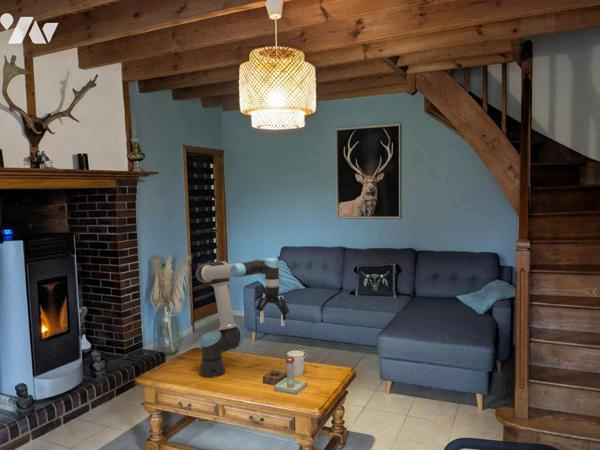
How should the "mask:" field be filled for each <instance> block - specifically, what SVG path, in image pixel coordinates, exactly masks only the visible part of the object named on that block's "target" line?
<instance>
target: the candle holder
mask: <svg viewBox="0 0 600 450" xmlns="http://www.w3.org/2000/svg"><path fill="white" fill-rule="evenodd" d="M286 355H287V357H294V359H295V361H294V377H300V376H302V375H304V366H305V365H304V363H305V352H304V351H301V350H290V351H288V352H287V354H286Z"/></svg>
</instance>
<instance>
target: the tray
mask: <svg viewBox="0 0 600 450" xmlns="http://www.w3.org/2000/svg"><path fill="white" fill-rule="evenodd" d="M306 387H307V381H304V380H299V379H294V388H287V378H285V379H283V380H282V381H280V382H279V383H278V384H276V385H273V388H274V389H273V390H274V391H275V392H279V393H285V394H288V395H289V394H290V395H293V396H296V395H298V394H299V393H300V392H301V391H302V390H304V389H305V388H306Z"/></svg>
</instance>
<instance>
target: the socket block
mask: <svg viewBox="0 0 600 450" xmlns="http://www.w3.org/2000/svg"><path fill="white" fill-rule="evenodd" d="M285 378H287V373H286V371H281V370H280V371H279V370H274V369H272V370H270V371H268V372H266V374H264V375H262V384H266V385H270V386H275V385H276V384H278V383H279V382H280V381H282V380H283V379H285Z"/></svg>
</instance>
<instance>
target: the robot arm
mask: <svg viewBox="0 0 600 450" xmlns="http://www.w3.org/2000/svg"><path fill="white" fill-rule="evenodd" d="M195 271H196V272H195V275H196V279H197V280H198V281H199V282H201V283H204V284H205V283H206V284H207V283H210V285H211V286H212V287H213V289H214V291H213V292H214V296H215V301H216V307H217V315H218V320H219V328H218V330H213V331H207V332H205V333H204V334H203V335H202V336H201V339H200V347H201V364H200V368H199V370H198V371H199V373H200V374H199V376H200V375H202V376H201V377H203V376H207V377H206V378H214V377H213V376H217V377H219V376H218V375H220V376H223V375H224V374H225V373H226V366H225V363H224V361H223V354H222V353H225V352H228V351H231V350H235V349H237V348H240V347H241V345H242V344H243V342H244V333H243V331H242V330H241V328H239V327H238V325H237V324H236V323H235V319H234V314H233V313H234V312H233V308H232V301H231V296H230V290H229V284H230V281H231V280H230V279H232V278H236V279H237V278H242V277H247V276H252V275H258V274H260V275H265V276H264V277H265V278H264V279H265V280H264V285H265V287H264V289H265V290H264V292H265V293H264V292H263V293H261V294H260V297H259V300H258V302H257V304H256V307H255V310H257V311H258V317H259V323H260V324H263V323H265V314H264V313H265V311H264V309H265V308H266V306H267V305H268V304H274V305H276V306H277V308H278V309H279V311H280V313H281V314H280V319H281V320H280V325H281V327H284V326H285V325H286V320H287V314H289V313H290V309H289V308H288V304H287V303H286V300H285V296H284V295H280V261H279V259H278V258H277V257H266V258H265V259H263V260H262V259H259V258H258V259H257V258H256V259H251V260H250V261H246V262H245V261H244V262H236V263H230V264H229V262H227V261H225V260H224V261H214V262H207V263H203V264H200V265H199V266H198V267H197V268H196V270H195ZM264 299H265V300H264ZM263 301H264V302H263ZM222 374H223V375H222Z"/></svg>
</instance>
